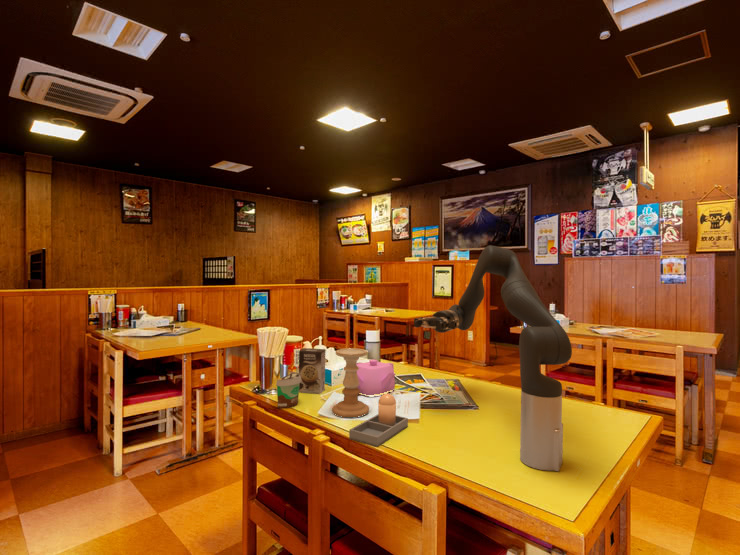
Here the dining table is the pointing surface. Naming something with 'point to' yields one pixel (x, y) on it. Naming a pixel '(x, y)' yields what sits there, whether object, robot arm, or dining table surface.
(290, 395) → the food container
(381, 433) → the divided tray
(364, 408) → the candle holder
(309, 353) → the coffee box
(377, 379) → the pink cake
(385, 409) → the peach domed shaker
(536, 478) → the dining table surface
